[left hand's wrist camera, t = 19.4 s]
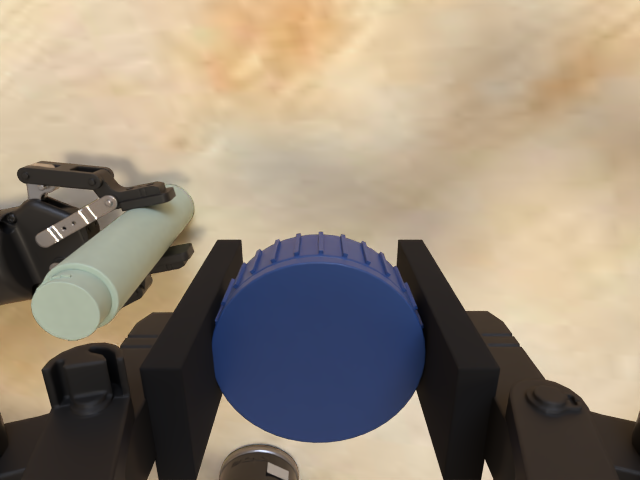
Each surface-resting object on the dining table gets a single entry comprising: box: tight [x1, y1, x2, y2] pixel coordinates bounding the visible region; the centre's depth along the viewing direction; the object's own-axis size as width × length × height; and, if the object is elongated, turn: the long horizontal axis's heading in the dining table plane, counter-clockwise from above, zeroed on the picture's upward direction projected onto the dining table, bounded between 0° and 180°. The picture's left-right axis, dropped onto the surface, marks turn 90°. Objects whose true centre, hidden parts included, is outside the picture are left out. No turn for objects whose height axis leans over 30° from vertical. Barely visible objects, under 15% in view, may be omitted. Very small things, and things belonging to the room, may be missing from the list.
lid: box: [212, 232, 426, 443], centre depth 11 cm, size 5×5×2 cm
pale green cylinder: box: [31, 184, 194, 341], centre depth 32 cm, size 4×4×19 cm
